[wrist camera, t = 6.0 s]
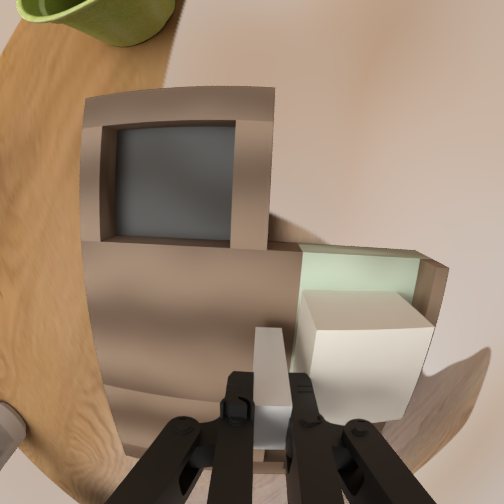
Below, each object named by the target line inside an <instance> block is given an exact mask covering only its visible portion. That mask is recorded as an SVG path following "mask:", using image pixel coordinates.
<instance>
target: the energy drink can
mask: <svg viewBox="0 0 504 504" xmlns="http://www.w3.org/2000/svg"><path fill="white" fill-rule="evenodd" d="M25 430H26V425H25V422H24V421H23V419H22V418H21V416H20V415H19V414H18V413H17V412H16V411H15V410H14V409H13V408H12V407H11V406H10V405H8V404H7V403H4V402H0V470H1V469H2V468H3V466H4V464H5V463H6V462H7V461H8V459H9V458H10V457H11V455H12V454H13V453H14V451H15V450H16V449H17V447H18V446H19V445H20V444H21V442H22V441H23V440H24V438H25V437H26V432H25Z"/></svg>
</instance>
